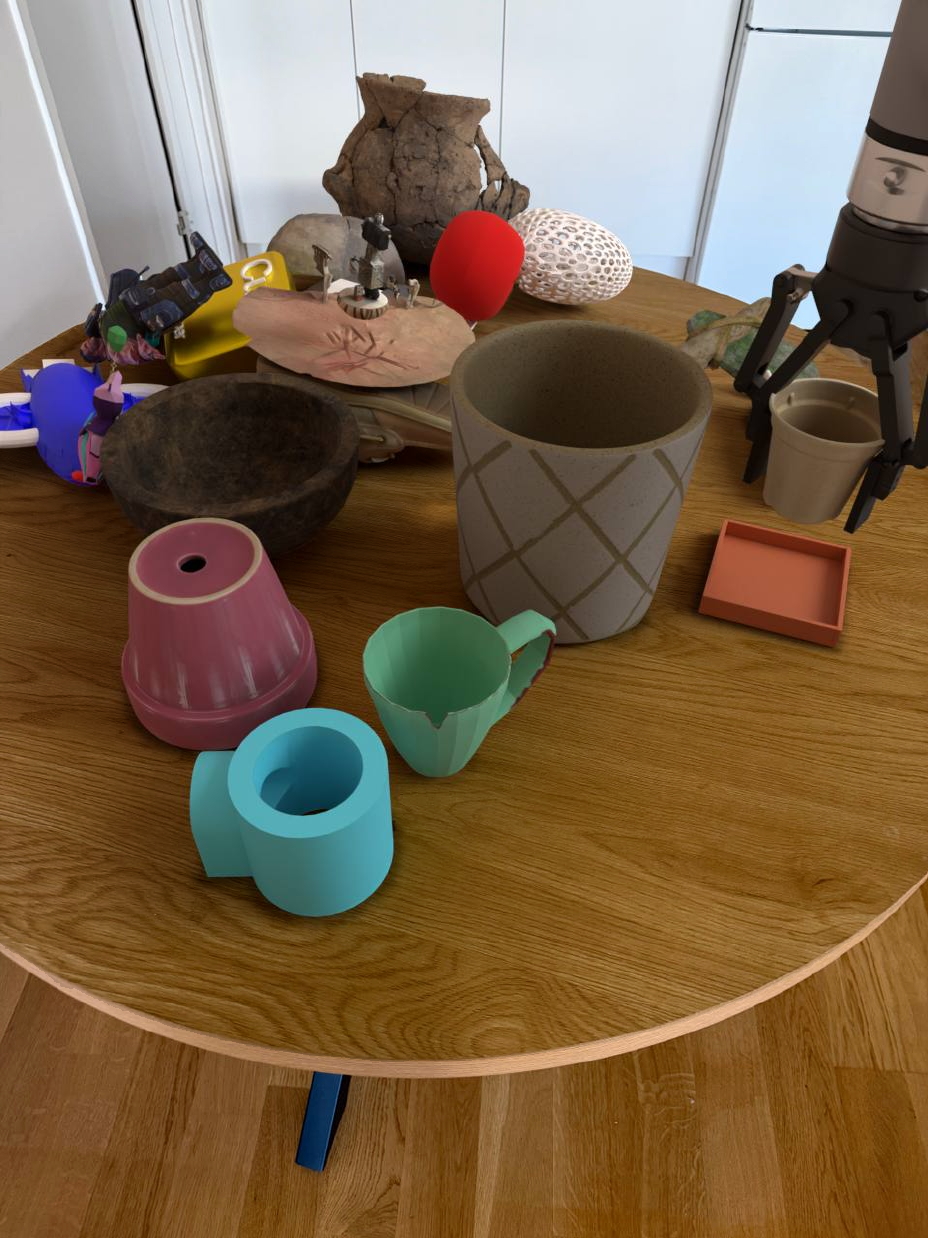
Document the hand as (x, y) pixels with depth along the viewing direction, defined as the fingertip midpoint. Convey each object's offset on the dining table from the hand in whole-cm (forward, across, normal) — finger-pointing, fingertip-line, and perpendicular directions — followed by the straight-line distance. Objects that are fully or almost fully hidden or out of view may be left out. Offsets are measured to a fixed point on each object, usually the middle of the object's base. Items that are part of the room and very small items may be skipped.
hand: (803, 499), depth 73 cm
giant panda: (+4, -54, +6) cm, 55 cm away
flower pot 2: (+1, 0, 0) cm, 1 cm away
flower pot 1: (-3, -25, -40) cm, 47 cm away
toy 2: (+7, -72, -16) cm, 74 cm away
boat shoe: (+2, -40, -9) cm, 41 cm away
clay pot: (+9, -70, +23) cm, 74 cm away
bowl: (+10, -39, -28) cm, 49 cm away
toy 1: (-8, -52, -28) cm, 59 cm away
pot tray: (+10, 0, 0) cm, 10 cm away
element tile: (+7, -65, -9) cm, 66 cm away
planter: (+10, -14, -13) cm, 21 cm away
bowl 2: (-1, -70, +11) cm, 70 cm away
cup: (+10, -9, -46) cm, 47 cm away
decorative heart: (+1, -49, +21) cm, 53 cm away
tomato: (-1, -54, +12) cm, 56 cm away
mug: (+10, -8, -31) cm, 33 cm away
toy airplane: (+4, -64, -30) cm, 70 cm away
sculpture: (+2, -48, -6) cm, 49 cm away
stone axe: (+9, -17, +13) cm, 23 cm away
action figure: (-3, -65, -10) cm, 66 cm away
